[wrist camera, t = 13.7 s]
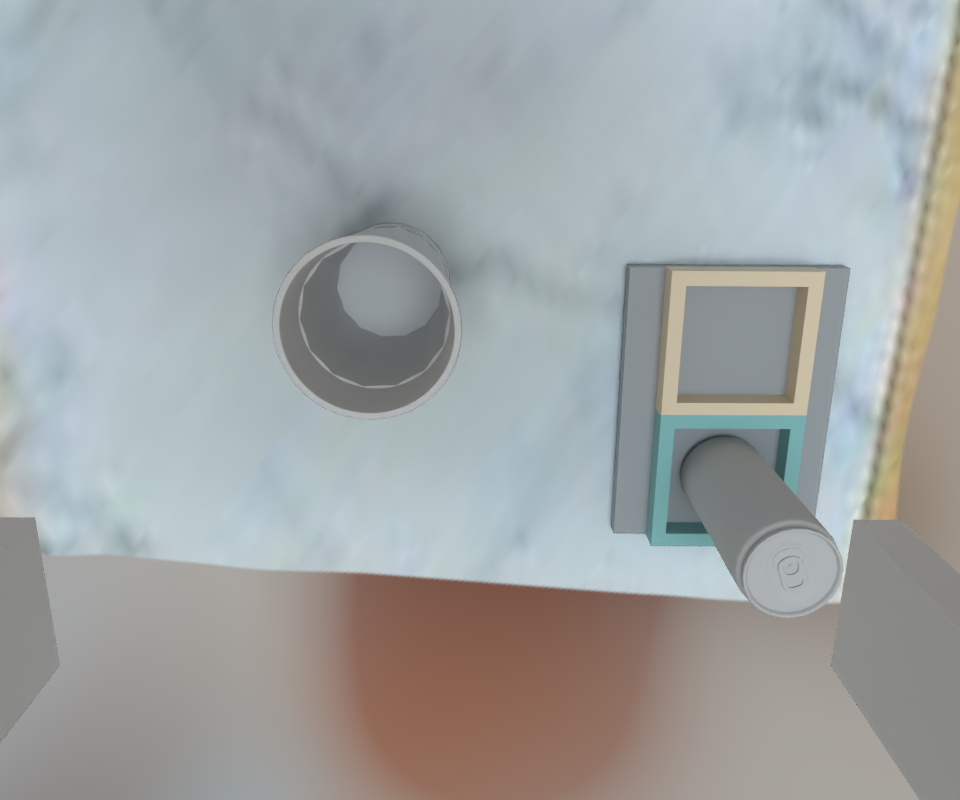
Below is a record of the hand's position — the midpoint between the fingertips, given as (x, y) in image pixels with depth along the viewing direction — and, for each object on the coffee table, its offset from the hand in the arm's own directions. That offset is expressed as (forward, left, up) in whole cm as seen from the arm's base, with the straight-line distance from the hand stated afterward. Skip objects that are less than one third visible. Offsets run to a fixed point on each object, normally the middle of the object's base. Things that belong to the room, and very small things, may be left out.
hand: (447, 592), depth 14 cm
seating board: (+8, +15, -35) cm, 39 cm away
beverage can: (+12, +15, -34) cm, 39 cm away
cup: (+1, -4, -35) cm, 35 cm away
